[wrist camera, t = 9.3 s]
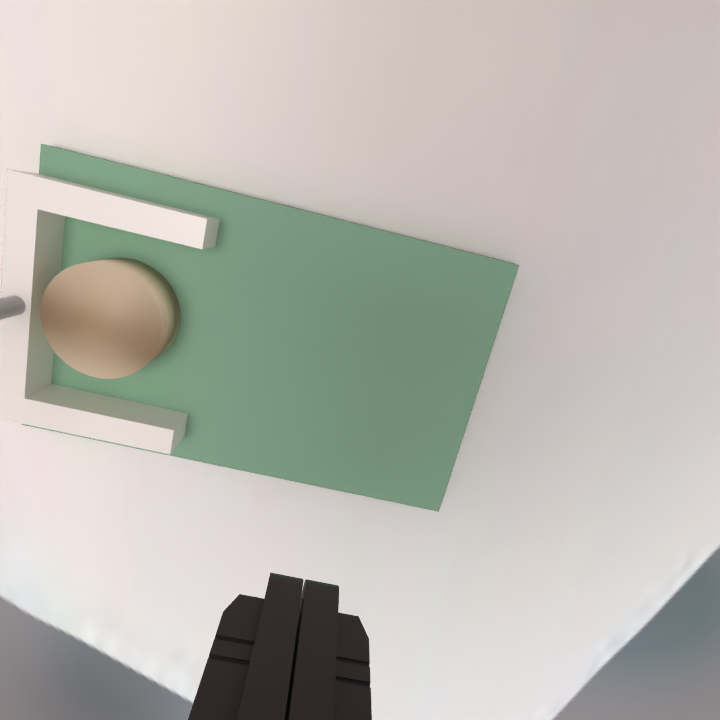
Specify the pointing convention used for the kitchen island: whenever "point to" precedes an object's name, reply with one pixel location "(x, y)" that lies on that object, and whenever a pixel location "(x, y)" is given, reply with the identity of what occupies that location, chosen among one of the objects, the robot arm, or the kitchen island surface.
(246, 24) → the kitchen island surface
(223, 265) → the putting green
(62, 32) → the kitchen island surface
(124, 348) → the puck
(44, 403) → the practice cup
